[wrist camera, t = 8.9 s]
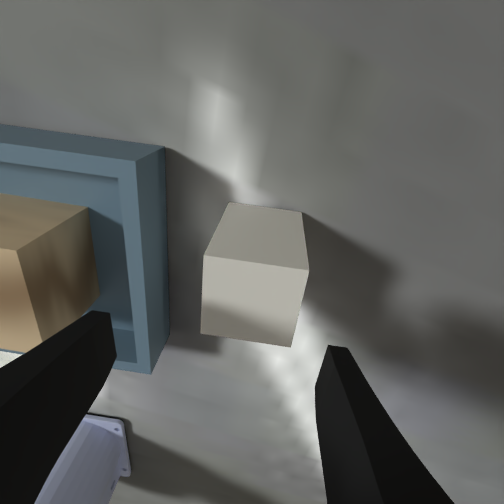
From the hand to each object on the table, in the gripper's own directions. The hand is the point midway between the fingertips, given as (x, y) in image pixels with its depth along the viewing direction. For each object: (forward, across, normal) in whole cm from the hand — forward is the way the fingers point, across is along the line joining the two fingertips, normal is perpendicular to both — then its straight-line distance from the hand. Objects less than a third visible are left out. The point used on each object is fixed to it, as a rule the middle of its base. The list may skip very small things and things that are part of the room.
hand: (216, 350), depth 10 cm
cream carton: (+9, -1, 0) cm, 9 cm away
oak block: (+8, +11, +2) cm, 14 cm away
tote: (+8, +11, +2) cm, 14 cm away
